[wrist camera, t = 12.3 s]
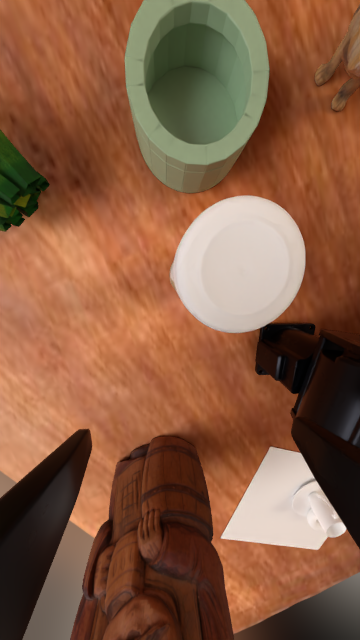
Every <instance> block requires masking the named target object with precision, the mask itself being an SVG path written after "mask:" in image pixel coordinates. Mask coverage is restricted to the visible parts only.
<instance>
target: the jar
mask: <svg viewBox="0 0 360 640" xmlns="http://www.w3.org/2000/svg"><path fill="white" fill-rule="evenodd" d="M269 70H270V69H269V61H268V54H267V46H266V41H265V38H264V35H263V33H262V30H261V28H260V25H259V23H258V20H257V18H256V15H255V14H254V12H253V10H252V9H251V8H250V7H249V5H248V4H247V3H246V1H245V0H144V1H143V3H142V5H141V7H140V8H139V10H138V12H137V14H136V16H135V18H134V20H133V22H132V24H131V28H130V33H129V38H128V42H127V47H126V52H125V75H126V88H127V94H128V98H129V103H130V108H131V113H132V117H133V122H134V127H135V131H136V136H137V140H138V143H139V147H140V150H141V153H142V156H143V158H144V160H145V162H146V164H147V166H148V167H149V169H150V170H151V172H152V173H153V174H154V175H155V176H156V177H157V178H158V179H159V180H160V181H161V182H162V183H163V184H165V185H166V186H168V187H170V188H172V189H174V190H176V191H180V192H185V193H197V192H202V191H205V190H208V189H210V188H212V187H214V186H215V185H216V184H218V183H219V182H220V181H221V180H222V179H223V178H224V177H225V176H226V175H227V174H228V172H229V171H230V169H231V168H232V166H233V165H234V163H235V162H236V160H237V159H238V157H239V155H240V154H241V152H242V150H243V149H244V147H245V145H246V144H247V142H248V140H249V139H250V137H251V136H252V134H253V132H254V131H255V129H256V127H257V125H258V123H259V120H260V117H261V115H262V112H263V109H264V106H265V103H266V99H267V91H268V81H269Z"/></svg>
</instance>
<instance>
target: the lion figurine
mask: <svg viewBox="0 0 360 640" xmlns="http://www.w3.org/2000/svg"><path fill="white" fill-rule="evenodd" d="M342 60H343V61H344V66H345V71H346V72H347V73H348V75H349V77H352V78H351V79H350V80H348V81H347V82H346V83H345V84H344V85H343V86H342V87H341V88H340V90H339V92H338V93H337V95H336V96H335V97H334V99H333V100H332V103H331V104H332V109H333V110H335V111H341V110H342V109H343V108H344V106H345V104H346V101H347V100H348V98H349V97H350V96H351V95H352V94H353V92H354V91H355V90H356V89H357V88H358V87H360V5H359V7H358V8H357V10H356V12H355V13H354V16H353V19H352V21H351V23H350V25H349V27H348V32H347V33H346V35H345V37H344V38H343V40H342V42H341V43H340V45H339V46H338V48H337V49H336V51H335V53H334V55H333V57H332V58H331V60H330V61H329V62H328V63H326V64H322V65H320V66H319V68H318V69H317V71H316V74H315V82H316V84H317V85H318V86H320V85H322V84H324V83H325V82H326V81H327V80H329V79H330V78H331V77H332V75H333V73H334V72H335V70H336V69H337V67H338V66H339V64H340V63H341V62H342Z"/></svg>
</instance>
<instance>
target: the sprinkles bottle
mask: <svg viewBox="0 0 360 640" xmlns="http://www.w3.org/2000/svg"><path fill="white" fill-rule="evenodd" d="M304 271H305V246H304V241H303V238H302V235H301V233H300V230H299V228H298V226H297V224H296V223H295V221H294V220H293V219H292V217H291V216H290V215H289V214H288V213H287V212H286V211H285V210H284V209H283V208H281V207H280V206H279V205H277V204H276V203H274V202H272V201H270V200H267V199H264V198H261V197H256V196H236V197H232V198H227V199H224V200H222V201H219V202H217V203H215V204H214V205H212V206H210V207H209V208H207V209H206V210H205V211H203V212H202V213H201V214H200V215H199V216H198V217H197V218H196V219H195V220H194V221H193V223H192V224H191V225H190V227H189V228H188V230H187V231H186V233H185V234H184V236H183V238H182V240H181V242H180V244H179V246H178V248H177V251H176V254H175V259H174V261H173V263H172V265H171V268H170V274H169V277H170V282H171V284H172V286H173V287H174V289H175V290H176V291H177V293H178V295H179V297H180V299H181V301H182V302H183V304H184V305H185V307H186V308H187V309H188V310H189V312H190V313H191V314H192V315H193V316H194V317H195V318H196V319H198V320H199V321H200V322H202V323H203V324H205V325H206V326H208V327H210V328H212V329H215V330H218V331H222V332H227V333H243V332H249V331H253V330H256V329H259V328H261V327H263V326H265V325H267V324H269V323H270V322H272V321H274V320H275V319H276V318H277V317H279V316H280V315H281V314H282V313H283V312H284V311H285V310H286V309H287V307H288V306H289V305H290V304H291V302H292V301H293V299H294V298H295V296H296V294H297V292H298V291H299V288H300V285H301V282H302V280H303V275H304Z"/></svg>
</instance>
